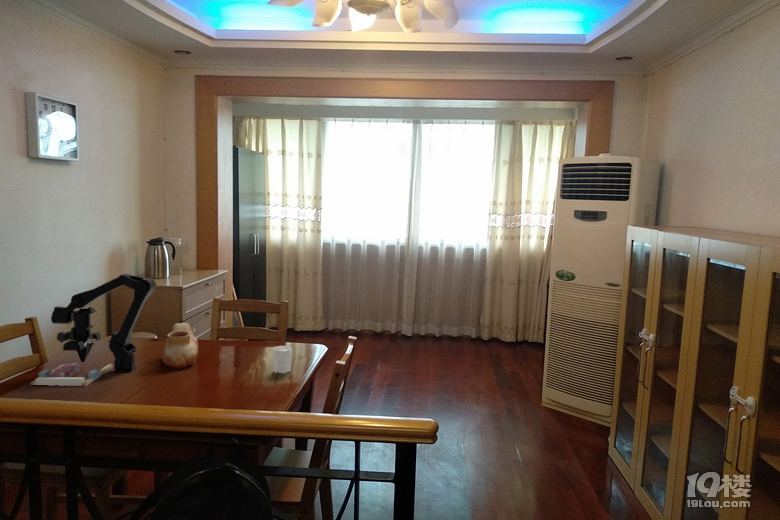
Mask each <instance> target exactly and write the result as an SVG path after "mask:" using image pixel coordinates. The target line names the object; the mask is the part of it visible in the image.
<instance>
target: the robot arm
mask: <svg viewBox="0 0 780 520" xmlns="http://www.w3.org/2000/svg"><path fill="white" fill-rule="evenodd" d="M122 286H126V287H127V288H129V289H131V290H133V300H132V302H131V303H130V304H131V305H130V307H129V308H128V311H127V314H126V316H125V318H124V320H123V322H122V325H121V327H120V328H119V329H118V330H117V331H115V332H113V333H112V334H111V337H110V340H109V341H108V348H109V350H110V352H111V353H112V355H113V357H114V358H115V359H113V360H114V362H113V368H114V370H113V373H131V372H132V371H134V370H135V369H136V368H137V366H135V365H136V360H135V359H136V358H135V357H136V355H135V353H136V351H137V347H136V346H135V345H134V344H133V343H132V339H133V337H132V334H133V333H132V332H133V330H134V327H135V325H136V323H137V320H138V319H139V317H140V314H141V312H142V309H144V305H145V303H146V301H147V300H148V298H149V297H150V296H151V295H152V294H153V292H154V291H155V289H156V288H157V283H156V281H155V280H154V278H151V277H146V278H144V277H143V276H142V277H141V276H136V275H131V274H129V273H123V274H121V275H118V277H116V278H114V279H111V280H110V281H108V282H106V283H103V284H101V285H99V286H97V287H94V288H92V289H89V290H86V291H82V292H79V293H76V294H73V295H72V296H71V298H70V302H69V303H68V304H67V306H59V305H58V306H55V307H53V311H52V313H51V317H50V319H51V320H50V321H51V323H52V324H54V325H55V324H56V325H57V324H58V325H65V324H66V325H70V324H71V323H73V326H72V327H71V328H70V330H68V331H66V332H65V331H61V332H58V333H56V340H57V341H59V342H60V343H61V344H63V345H62V350H63V351H76V352H77V355H78V358H79V360H80V362H81V363H85V362H86V360H87V358H88V356H89V354H90V352H91V351H92V348H93V346H94V344H95V342H91V340H96V341H99V340H101V337H102V336H101V333H100V332H99V331H95V332H93V331H92V328H94V325H93V324H91V320H92V319H91V315H92V314H94V313H96V312H97V309H95V308H93V307H92V306H90V305H91V304H93V303H94V302H95V301H97V300H98V299H99V298H100V297H102V296H103V295H104V296H105V295H107V294H108V293H110V292H112V291H114V290H116V289H118V288H121V287H122ZM87 306H89V307H87ZM85 307H87V308H85ZM77 309H79V310H77ZM64 342H65V343H64Z"/></svg>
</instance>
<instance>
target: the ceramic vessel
mask: <svg viewBox="0 0 780 520" xmlns="http://www.w3.org/2000/svg"><path fill="white" fill-rule="evenodd" d="M171 329H172V330H171V332H169V333H168V334H166V335H167V339H166V340H167V341H166V343H165V348H164V350H163V357H162V358H163V359H162V362H163V363H164V366H165V367H168V368H174V369H184V367H185V368H186V367H189V366H193V365H195V363H196V359H197V356H198V355H199V354H198V353H199V342H198V338H197V337H196V336H195V334H194V332H193V331H192V329H191V325H190V324H189V323H188V322H182V323H175V324H174V325H173V326H172V328H171Z"/></svg>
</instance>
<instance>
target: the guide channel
mask: <svg viewBox="0 0 780 520" xmlns="http://www.w3.org/2000/svg"><path fill="white" fill-rule="evenodd" d="M65 364H66V363H64V364H62V365H59V366H58V367H61V366H63V365H65ZM58 367H56V368H54V369H52V370H51V369H44V370H42V371H39V372H38V377H37V378H35V379H34V380H33V381H31V382H30V386H31V385H48V386H47V387H49V385H50V386H51V387H52V386H53V385H54V387H55V385H58V386H59V387H60V386H61V387H62V386H63V387H65V385H66V386H67V387H68V386H69V387H73V386H75V387H76V386H79V387H80V386H83V385H84V387H86V386H87V387H88V385H90V384H91V383H93V382H95V381H96V380H97V379H99V378H100V377H102V374H103V375H104V374H105V373H106V371H107V372H108V371H110V370H111V369H113V368H114V363H113V364H112V363H110V364H107V365H105V366H104V367H103V368H101V369H92V370H90V371H89V372H88V373H87V375H88V376H87V379H86V377H85V376H84V377H83V376H75V377H73V376H72V377H68V376H66V377H49V376H50V374H52V373H53V372H54V370H55V369H57V368H58ZM109 369H110V370H109Z"/></svg>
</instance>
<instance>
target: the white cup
mask: <svg viewBox="0 0 780 520" xmlns="http://www.w3.org/2000/svg"><path fill="white" fill-rule="evenodd" d="M292 357H293V347H292V346H288V345H278V346H274V347H273V348H272V361H273V364H272V365H273V372H274V371H275V372H279V373H283V372H289V371H290V372H291V369H292V367H291V366H292V359H293V358H292ZM290 372H289V373H290Z"/></svg>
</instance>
